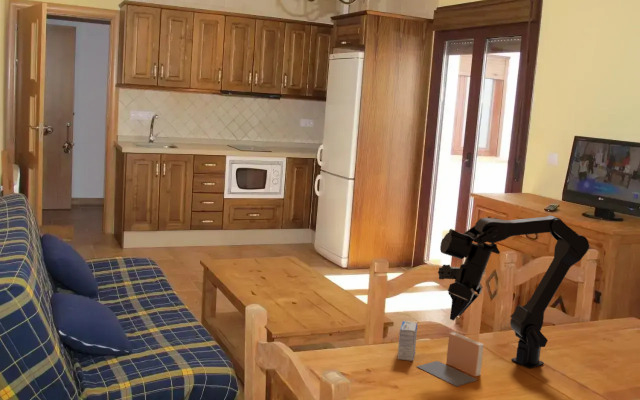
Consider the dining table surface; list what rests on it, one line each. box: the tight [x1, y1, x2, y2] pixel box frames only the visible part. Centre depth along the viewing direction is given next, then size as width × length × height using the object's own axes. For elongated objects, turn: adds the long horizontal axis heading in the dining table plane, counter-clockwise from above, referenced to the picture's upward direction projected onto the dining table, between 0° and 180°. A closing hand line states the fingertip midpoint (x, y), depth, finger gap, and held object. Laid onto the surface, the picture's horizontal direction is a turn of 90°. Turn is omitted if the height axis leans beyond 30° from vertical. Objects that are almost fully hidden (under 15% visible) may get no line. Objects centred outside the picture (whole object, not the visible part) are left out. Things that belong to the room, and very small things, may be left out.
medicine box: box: [397, 320, 418, 362], centre depth 190 cm, size 8×4×9 cm, turn 168°
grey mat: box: [416, 360, 478, 387], centre depth 180 cm, size 8×14×1 cm, turn 37°
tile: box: [446, 331, 485, 377], centre depth 183 cm, size 2×10×8 cm, turn 37°
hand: (455, 317), depth 185 cm, fingers open, 9 cm apart
